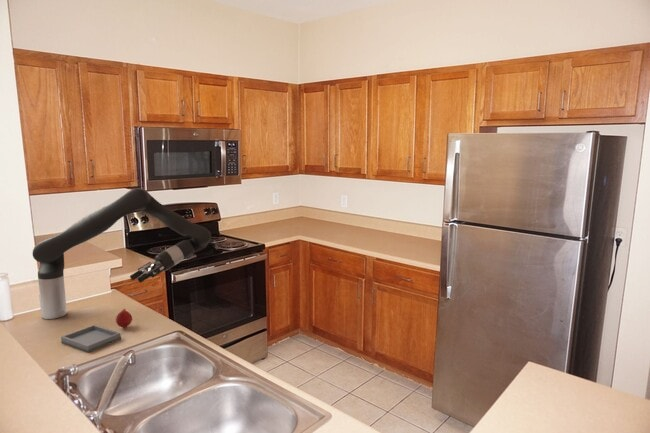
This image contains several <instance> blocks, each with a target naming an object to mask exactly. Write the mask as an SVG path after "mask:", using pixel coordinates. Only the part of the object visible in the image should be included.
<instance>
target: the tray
mask: <svg viewBox="0 0 650 433" xmlns="http://www.w3.org/2000/svg"><path fill="white" fill-rule="evenodd" d="M121 339H122V335H121V332H119V331H116V330H112V329H109V328H106V327H104V326H103V327H102V326H100V325H96V324H92V325H89V326H86V327H84V328H81V329H78V330H76V331H74V332H73V331H72V332H70V333H67V334H64V335H62V336H61V337H60V343H61V344H62V345H64V346H69V347H71V348H73V349H77V350H79V351H83V352H84V353H88V354H89V353H92V352H94V351H96V350H98V349H102V348H104V347H106V346H108V345H111V344H113V343H115V342H117V341H120V340H121Z"/></svg>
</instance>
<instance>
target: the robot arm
mask: <svg viewBox="0 0 650 433" xmlns="http://www.w3.org/2000/svg"><path fill="white" fill-rule="evenodd" d="M136 211H142V212H143V213H144V212H145V213H146V214H148V215H151V216H153V217H155V219H157V220H159V221H160V222H161V223H162V224H164V225H166V227H168V228H169V229H171V230H172V231H174V232H176V233H177V234H179V235H181V236H183V237H186V236H188V237H191V238H189V239H183V240H182V241H180V242H178V243H176V244H174V245H173V246H170V247H168V248H167V249H165V250H163V251H162V252H159V253H158V254H157V255H155V256H154V259H155V261H154V262H151V261H149V262H147V263H145V264H144V265H141V266H140V267H138V268H137V271H136V272H133V273H132V274H131V275H129V278H130V279H131V280H132V281H135V280H137V281H138V283H140V284H141V283H142V282H144V281H146V280H147V279H150V278H154V277H156V276H158V275H159V274H161V273H162V272H166V271H168V270H170V269H171V268H173V267H174V266H176V265H177V264H179V263H181V262H182V261H184V260H185V259H186V258H188V257H190V255H193V254H195V253H197V252H199V251H202V250H204V249H205V248H207V247H208V245H209V243H210V242H211V239H212V233H211V232H210V230H209V229H207V228H206V227H204V226H202V225H199V224H198V223H194V222H192V221H190V220H188V219H187V218H185V217H184V216H182V215H180V214H179V213H177V212H176V211H174V210H171V209H169V208H168V207H166V206H165V205H164V204H162V203H161V202H160V201H158V200H157V199H155V197H153V196H152V195H151V194H150V193H149V192H148V191H146V190H144V189H142V188H133V189H131V190H129V191H128V192H126V193H124V194H123V195H121V196H120V197H119V198H117V199H116V200H114V201H113V202H111V203H110V204H107V205H104V206H103V207H100V208H99V209H97V210H95V211H93V212H91V213H90V214H87V215H85V216H84V217H82V218H81V219H79V220H78V221H76V222H75V223H73V224H72V225H70V226H68V227H67V229H65V230H64V231H62V232H60V233H59V234H56V235H55V236H52V237H51V238H46V239H44V240H42V241H39V242H38V243H37V244H36V245H35V246H34V247H33V249H32V252H31V254H32V257H33V259H34V261H36V262H37V263H39V267H38V268H39V269H38V271H37V279H38V280H37V281H38V290H39V295H38V296H39V304H40V316H41V318H42V319H44V320H52V319H53V320H55V319H58V318H62V317H65V316H66V315H67V314H68V310H67V299H66V288H65V277H64V271H65V270H64V269H65V253H66V252H67V251H68V250H71V249H72V248H74V247H76V246H79V245H80V244H83V243H85V242H88V241H90V240H91V239H93V238H95V237H97V236H99V235H101V234H103V233H105V232H106V231H107V230H109V229H110V228H112V227H113V225H115V224H116V223H117V222H118V221H119V220H121V219H122V218H124V217H125V216H127V215H130V214H131V213H133V212H136Z"/></svg>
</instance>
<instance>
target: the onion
mask: <svg viewBox="0 0 650 433" xmlns="http://www.w3.org/2000/svg"><path fill="white" fill-rule="evenodd" d="M132 321H133V316H132V314H131V313H130V312H129V311H127V310H126V308H123V309H122V310H121V311H120V312H119V313H118V314H117V315H116V317H115V322H116V325H117V326H118V327H121V328H122V329H126V328H127V327H129V325H131V323H132Z"/></svg>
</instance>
